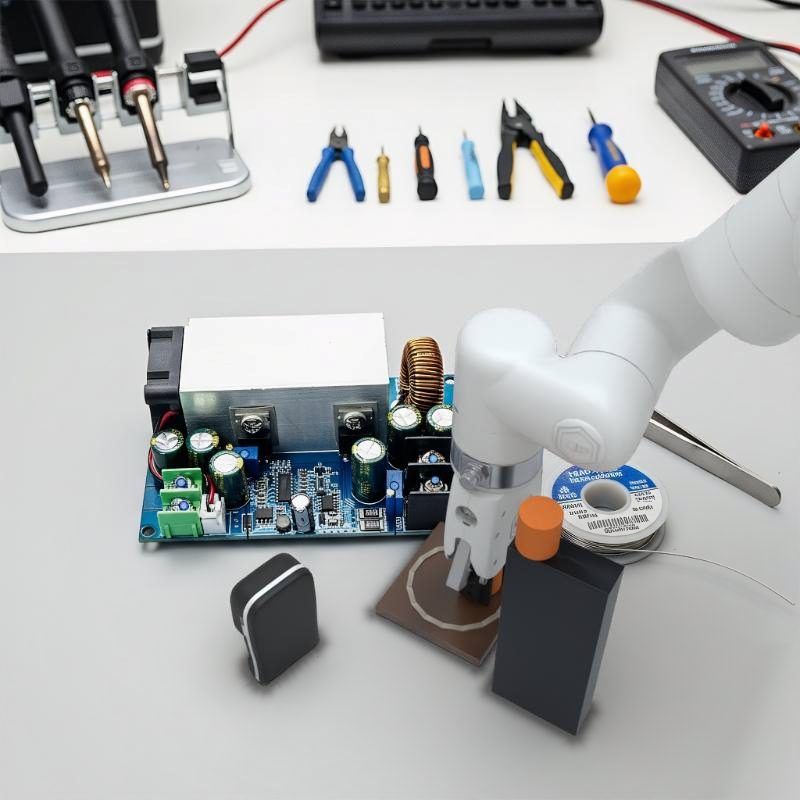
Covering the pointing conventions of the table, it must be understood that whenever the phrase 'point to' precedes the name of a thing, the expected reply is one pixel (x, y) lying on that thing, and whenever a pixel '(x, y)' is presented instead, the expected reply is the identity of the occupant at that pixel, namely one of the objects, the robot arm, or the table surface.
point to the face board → (441, 605)
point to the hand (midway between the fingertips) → (484, 581)
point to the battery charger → (276, 614)
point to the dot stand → (554, 631)
